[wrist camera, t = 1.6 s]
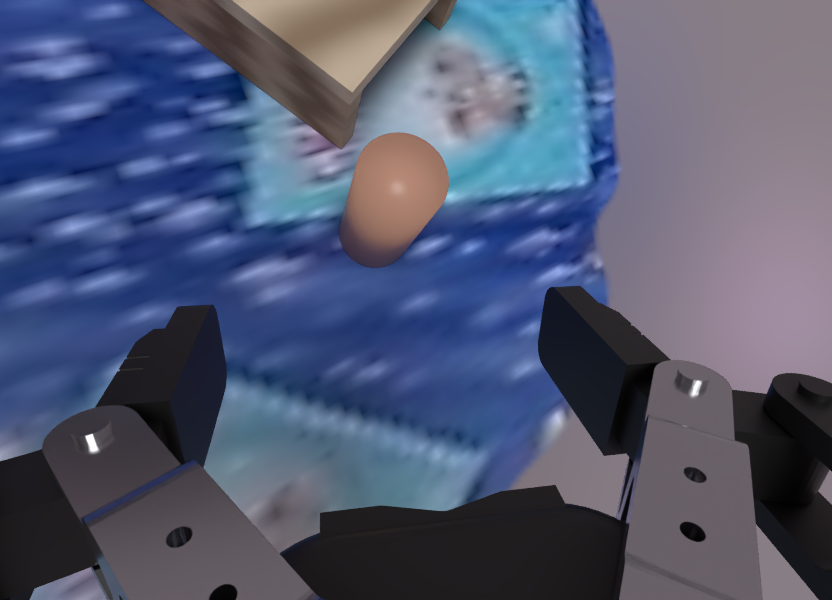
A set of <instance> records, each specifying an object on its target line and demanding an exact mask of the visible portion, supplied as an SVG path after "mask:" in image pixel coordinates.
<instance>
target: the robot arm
mask: <svg viewBox="0 0 832 600" xmlns="http://www.w3.org/2000/svg"><path fill="white" fill-rule="evenodd" d="M538 352H539V357H540V361H541V363H542V365H543V367H544V368H545V370H546V371H547V373H548V374H549V376H550V377H551V378H552V380H553V381H554V383H555V384H556V386H557V387H558V389H559V390H560V392H561V393H562V395H563V396H564V398H565V399H566V400H567V402H568V403H569V405H570V406H571V408H572V409H573V411H574V412H575V414H576V415H577V417H578V418H579V419H580V421H581V423H582V424H583V425H584V427H585V428H586V430H587V431H588V433H589V434H590V436H591V437H592V439H593V440H594V442H595V443H596V445H597V446H598V447H599V449H600V450H601V452H602V453H603V455H604V456H606V455H616V454H625V453H627V455H628V456H629V461H628V464H627V468H626V472H625V476H624V481H623V486H622V491H621V495H620V500H619V505H618V510H617V515H616V518H614V517H612V516H609V515H607V514H605V513H602V512H599V511H597V510H593V509H590V508H587V507H583V506H578V505H573V504H565V503H564V501H563V499H562V497H561V495H560V493H559V491H558V489H557V487H556V485H552V486H543V487H534V488H526V489H517V490H509V491H501V492H498V493H495V494H492V495H490V496H487V497H484V498H482V499H479V500H476V501H474V502H471V503H468V504H465V505H463V506H460V507H457V508H455V509H452V510H448V511H432V510H422V509H411V508H401V507H391V506H374V507H365V508H357V509H348V510H340V511H331V512H323V513H320V533H318V534H316V535H313V536H310V537H308V538H306V539H304V540H302V541H300V542H298V543H296V544H294V545H292V546H290V547H289V548H287V549H286V550H284V551H282V552H281V553H278V552H277V551H276V549H275V548H274V547H273V546H272V545H271V544H270V543H269V542H268V540H267V539H266V538H265V537H264V536H263V535H262V534H261V533H260V531H259V530H258V529H257V528H256V527H255V526H254V525H253V524H252V523H251V521H250V520H249V519H248V518H247V517H246V516H245V515H244V514H243V512H242V511H241V510H240V509H239V508H238V507H237V506H236V505H235V503H234V502H233V501H232V500H231V499H230V498H229V497H228V496H227V495H226V493H225V492H224V491H223V490H222V489H221V488H220V487H219V486H218V484H217V483H216V482H215V481H214V480H213V479H212V478H211V477H210V475H209V474H208V473H207V472H206V471H205V470H204V469H203V467H204V463H205V460H206V456H207V453H208V449H209V446H210V442H211V439H212V435H213V431H214V428H215V424H216V421H217V417H218V414H219V410H220V406H221V403H222V399H223V396H224V392H225V388H226V379H227V372H226V361H225V356H224V350H223V345H222V339H221V333H220V328H219V322H218V317H217V312H216V309H215V307H214V305H198V306H179V307H177V308H176V310H175V312H174V314H173V315H172V317H171V319H170V321H169V323H168V325H167V326H166V328H165V329H153V330H152V331H150V332H149V333H148V334H146V335H145V336H144V337H142V338H141V339H139V340H138V341H137V342H136V343H135V344H134V346H133V347H132V349H131V351H130V352H129V354H128V355H127V359H125V360H124V362H123V363H122V365H121V367H120V368H119V369H120V371H118V372H117V373H116V375H115V376H114V378H113V379H112V381H111V383H110V384H109V386H108V388H107V389H106V391H105V392H104V394H103V396H102V397H101V399H100V400H99V402H98V404H97V405H96V407H95V408H92V409H89V410H86V411H83V412H80V413H78V414H76V415H73V416H71V417H70V418H68V419H66V420H64V421H63V422H61V423H60V424H58V425H57V426H56V427H55V428H54V429H52V430H51V432H50V433H49V434H48V435H47V436H46V438H45V440H44V442H43V445H42V449H41V450H38V451H35V452H32V453H29V454H25V455H22V456H18V457H14V458H11V459H7V460H4V461H0V600H29V599H30V597H31V595H32V593H33V591H34V588H37V587H39V586H42V585H45V584H47V583H50V582H53V581H55V580H58V579H60V578H63V577H66V576H68V575H71V574H74V573H76V572H79V571H81V570H84V569H87V568H89V567H91V570H92V572H93V574H94V575H95V577H96V579H97V581H98V583H99V585H100V587H101V589H102V591H103V593H104V595H105V597H106V599H107V600H763V599H762V589H761V577H760V566H759V557H758V556H759V555H758V544H757V533H756V524H757V526H758V527H759V528H760V529H761V530H762V532H763V533H764V534H765V535H766V536H767V538H768V539H769V540H770V541H771V542H772V544H773V545H774V546H775V547H776V548H777V550H778V551H779V552H780V553H781V555H782V556H783V557H784V558H785V559H786V560H787V562H788V563H789V564H790V565H791V567H792V568H793V569H794V570H795V571H796V573H797V574H798V575H799V576H800V577H801V579H802V580H803V581H804V582H805V583H806V585H807V586H808V587H809V588H810V590H811V591H812V592H813V593H814V594H815V596H816V597H817V598H818V599H819V600H832V505H831V504H830V503H829V502H828V501H827V500H826V499H825V498H824V497H823V496H822V495H821V494H820V493H819V492H818V490H819V489H820V486H821V485H822V483H823V481H824V479H825V477H826V475H827V473H828V472H829V470H831V471H832V384H831V383H829V382H827V381H824V380H822V379H819V378H816V377H812V376H808V375H803V374H796V373H785V374H780V375H777V376H775V377H774V378H773V380H772V383H771V385H770V388H769V390H768V392H767V394H762V393H754V392H746V391H737V390H732V388H731V386H730V384H729V382H728V381H727V380H726V379H725V378H724V377H723V376H721V375H720V374H719V373H717V372H715V371H713V370H712V369H710V368H707V367H705V366H702V365H700V364H696V363H693V362H688V361H682V360H670V359H669V358H668V357H667V356H666V355H665V354H664V353H663V352H661V350H659V349H658V348H657V347H656V346H655V345H654V344H653V343H652V342H651V341H650V340H648V339H647V338H646V337H645V336H644V335H641V333H640V331H639V330H638V329H636V328H635V327H634V326H631V323H630V322H629V321H628V320H627V319H625V318H624V317H623V316H622V315H621V314H620V313H619V312H617V311H615V310H613V309H611V308H609V307H607V306H605V305H603V304H601V303H598V302H597V301H596V300H595V299H594V298H593V297H592V296H591V295H590V294H589V293H587V292H586V291H585V290H584V289H583V288H582V287H581V286H566V287H551V288H549V289H548V290H547V292H546V295H545V300H544V306H543V313H542V319H541V326H540V332H539V339H538Z"/></svg>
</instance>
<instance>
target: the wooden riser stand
mask: <svg viewBox="0 0 832 600" xmlns="http://www.w3.org/2000/svg"><path fill="white" fill-rule="evenodd" d="M143 1H144V2H145V3H147V4H148V5H149V6H151V7H152V8H153V9H155V10H156V11H157V12H159V13H160V14H161V15H163V16H164V17H165V18H167V19H168V20H169V21H171V22H172V23H173V24H175V25H176V26H177V27H179V28H180V29H181V30H183V31H184V32H185V33H187V34H188V35H189V36H191V37H192V38H193V39H195V40H196V41H197V42H199V43H200V44H201V45H203V46H204V47H205V48H207V49H208V50H209V51H211V52H212V53H213V54H215V55H216V56H217V57H219V58H220V59H221V60H223V61H224V62H225V63H227V64H228V65H229V66H231V67H232V68H233V69H235V70H236V71H237V72H239V73H240V74H241V75H243V76H244V77H245V78H247V79H248V80H249V81H251V82H252V83H253V84H255V85H256V86H257V87H259V88H260V89H261V90H263V91H264V92H265V93H267V94H268V95H269V96H271V97H272V98H273V99H275V100H276V101H277V102H279V103H280V104H281V105H283V106H284V107H285V108H287V109H288V110H289V111H291V112H292V113H293V114H295V115H296V116H297V117H299V118H300V119H301V120H303V121H304V122H305V123H307V124H308V125H309V126H311V127H312V128H313V129H315V130H316V131H317V132H319V133H320V134H321V135H323V136H324V137H325V138H327V139H328V140H329V141H331V142H332V143H333V144H335V145H336V146H337V147H339V148H340V149H342V148H343V147H344V146H345V144H346V143H347V142H348V141H349V139H350V138H351V137H352V135H353V131H354V126H355V122H356V118H357V113H358V109H359V104H360V100H361V96H362V91H363V89H364V88H365V87H366V85H367V84H368V83H369V82H370V81H371V80H372V78H373V77H374V76H375V75H376V74H377V72H378V71H379V70H380V69H381V68H382V67H383V65H384V64H385V63H386V62H387V61H388V59H389V58H390V57H391V56H392V55H393V54H394V52H395V51H396V50H397V49H398V48H399V46H400V45H401V44H402V43H403V42H404V41H405V39H406V38H407V37H408V36H409V35H410V33H411V32H412V31H413V30H414V29H415V28H416V26H417V25H418V24H419V23H420V22H421V21H422V19H423V18H425V19H427V20H428V21H429V22H430V23H432V24H433V25H434V26H435V27H437V28H438V29H439V30H440V29H441V28H442V27H443V26H444V24H445V23H446V22H447V21H448V20H449V18H450V15H451V13H452V11H453V8H454V6H455V3H456V1H457V0H143Z"/></svg>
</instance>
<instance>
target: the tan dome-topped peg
mask: <svg viewBox="0 0 832 600" xmlns="http://www.w3.org/2000/svg"><path fill="white" fill-rule="evenodd" d="M448 187H449V177H448V172H447V168H446V165H445V163H444V161H443V159H442V157H441V156H440V154H439V153H438V152H437V151H436V149H435V148H434V147H433V146H431V145H430V144H429V143H428V142H426V141H425V140H423V139H421V138H419V137H417V136H414V135H411V134H407V133H389V134H385V135H382V136H379V137H377V138H376V139H374V140H372V141H371V142H370V143H369V144H368V145H367V146H366V147H365V148H364V149H363V151H362V152H361V154H360V156H359V158H358V161H357V164H356V168H355V172H354V175H353V179H352V183H351V186H350V190H349V194H348V197H347V201H346V205H345V208H344V212H343V215H342V219H341V223H340V227H339V238H340V242H341V245H342V247H343V249H344V251H345V252H346V253H347V255H348V256H349V257H350V258H351V259H353V260H354V261H355V262H357V263H359V264H361V265H363V266H366V267H372V268H379V267H385V266H388V265H390V264H392V263H394V262H395V261H396V260H398V259H399V258H400V256H401V255H402V254H403V253H404V252H405V250H406V249H407V248H408V247H409V245H410V244H411V243H412V242H413V240H414V239H415V238H416V237H417V235H418V234H419V233H420V232H421V230H422V229H423V228H424V227H425V225H426V224H427V223H428V222H429V220H430V219H431V218H432V217H433V215H434V214H435V213H436V212H437V211H438V209H439V208H440V207H441V205H442V204H443V202H444V200H445V198H446V196H447V192H448Z"/></svg>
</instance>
